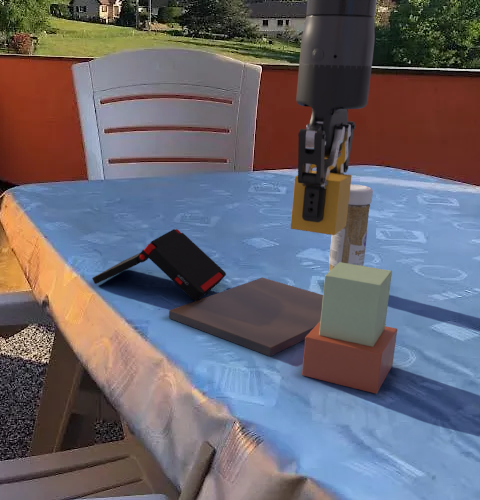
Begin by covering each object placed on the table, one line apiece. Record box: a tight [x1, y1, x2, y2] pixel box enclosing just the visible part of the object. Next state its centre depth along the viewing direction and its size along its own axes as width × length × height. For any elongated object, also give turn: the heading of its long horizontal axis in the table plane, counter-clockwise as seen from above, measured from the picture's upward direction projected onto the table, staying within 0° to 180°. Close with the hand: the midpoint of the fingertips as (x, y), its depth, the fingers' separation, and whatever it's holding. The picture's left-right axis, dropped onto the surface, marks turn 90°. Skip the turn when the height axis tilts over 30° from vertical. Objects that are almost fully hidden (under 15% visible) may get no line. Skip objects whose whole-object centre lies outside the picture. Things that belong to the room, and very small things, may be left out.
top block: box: [290, 170, 353, 236], centre depth 80 cm, size 5×5×6 cm
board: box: [168, 277, 323, 357], centre depth 82 cm, size 18×14×1 cm
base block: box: [301, 321, 398, 395], centre depth 68 cm, size 7×7×4 cm
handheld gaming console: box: [91, 228, 227, 301], centre depth 92 cm, size 9×12×10 cm
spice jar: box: [328, 184, 374, 272], centre depth 91 cm, size 5×5×14 cm
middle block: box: [319, 262, 393, 347], centre depth 67 cm, size 5×5×6 cm
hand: (319, 215), depth 80 cm, fingers closed on top block, 5 cm apart
